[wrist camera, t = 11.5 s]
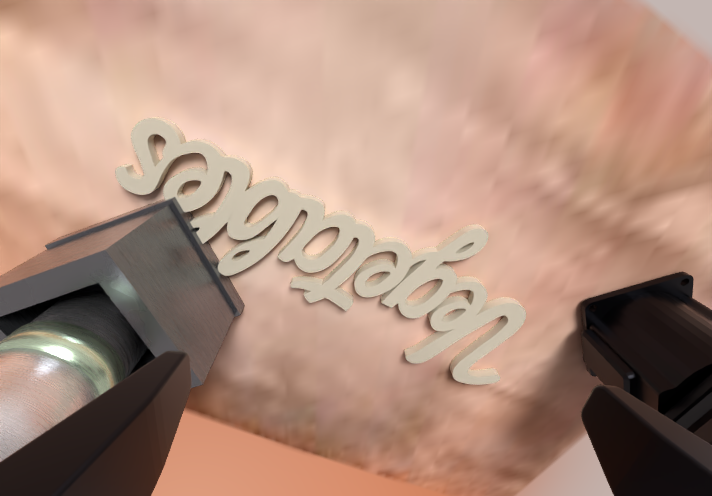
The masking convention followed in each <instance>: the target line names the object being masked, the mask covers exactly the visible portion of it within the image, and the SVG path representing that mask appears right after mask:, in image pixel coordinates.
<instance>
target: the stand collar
mask: <svg viewBox="0 0 712 496" xmlns="http://www.w3.org/2000/svg"><path fill="white" fill-rule="evenodd" d="M193 219H194V217H193V215H192V214H191V212H190V211H189V212H184V211H183V209H182V208H181V206H180V204H179V203H178V201H177V199H176V198H175V197H173V198H170V199H167V200H165V199H163V200H160V201H158V202H155V203H152V204H149V205H147V206H144V207H141V208H139V209H136V210H133V211H130V212H128V213H125V214H122V215H120V216H117V217H114V218H111V219H109V220H106V221H103V222H101V223H98V224H95V225H92V226H90V227H87V228H84V229H82V230H79V231H76V232H73V233H71V234H68V235H65V236H63V237H60V238H58V239H56V240H54V241H52V242H50V243H48V244H47V245H45V247H46V248H47V250H45V251H44V252H42V253H40V254H38V255H37V256H35V257H33V258H31V259H29V260H28V261H26V262H24V263H22V264H21V265H19V266H17V267H15V268H14V269H12V270H10V271H8V272H7V273H5V274H3V275H1V276H0V342H1V341H2V340H3V339H5V338H6V337H7V336H9V335H10V334H11V333H13V332H14V331H15V330H16V329H18V328H20V327H21V326H23V325H26V324H28V323H30V322H32V321H33V320H34V319H35V318H37V317H38V316H39V315H41V314H42V313H43V312H45V311H46V310H47V309H48V308H50V307H51V306H52V305H54V304H55V303H56V302H57V301H59V300H60V299H61V298H63V297H64V296H65V295H67V294H68V293H70V292H73V291H76V290H78V289H81V288H84V287H87V286H90V285H93V284H100V286H101V287H102V288H103V289H104V291H105V292H106V293H107V295H108V296H109V297H110V299H111V300H112V301H113V303H114V304H115V305H116V306H117V308H118V309H119V310H120V312H121V313H122V314H123V316H124V317H125V318H126V319H127V321H128V322H129V323H130V325H131V326H132V327H133V329H134V330H135V331H136V332H137V334H138V335H139V336H140V338H141V339H142V340H143V342H144V343H145V344H146V346H147V347H148V349H147V351H146V352H145V353H144V355H143V356H142V357H141V359H140V360H139V361H138V363H137V364H136V366H135V367H134V368H133V370H132V371H131V372H130V374H129V375H131V374H132V373H134V372H135V371H137V370H138V369H140V368H141V367H143V366H144V365H146V364H147V363H149V362H150V361H152V360H153V359H155V358H156V357H158V356H159V355H161V354H162V353H164V352H166V351H182V352H187V353H188V354H189V357H190V369H191V388H193V387H196V386H200V385H203V383H204V381H205V379H206V377H207V375H208V373H209V370H210V368H211V366H212V364H213V362H214V360H215V357H216V355H217V353H218V351H219V349H220V347H221V344H222V342H223V340H224V338H225V336H226V334H227V331H228V329H229V327H230V325H231V323H232V321H233V318H234V317H236V316H239V315H241V313H242V310H243V308H244V306H245V305H244V303H243V302H242V300H241V298H240V296H239V295H238V293H237V291H236V290H235V288H234V286H233V284H232V283H231V281H230V279H229V277H228V276H224V275H222V274H221V273H220V272H219V271H218V264H219V260H218V258H217V257H216V255H215V253H214V252H213V250H212V248H211V246H210V245H209V243H208V241H206V242H205V243H202V242H201V240H200V238H199V237H198V235H197V233H196V232H197V231H198V230H199V228H200V227H196V228H193V226H192V225H191V223H190V222H191V221H192V220H193ZM129 375H128V376H129Z"/></svg>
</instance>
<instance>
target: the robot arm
mask: <svg viewBox="0 0 712 496" xmlns="http://www.w3.org/2000/svg"><path fill="white" fill-rule="evenodd" d="M692 293H693V277H692V276H691V275H689V274H687V273H685V272H679V273H675V274H672V275H669V276H665V277H662V278H658V279H655V280H651V281H648V282H644V283H641V284H638V285H634V286H631V287H627V288H624V289H620V290H617V291H613V292H610V293H607V294H603V295H600V296H596V297H593V298H589V299H587V300H585V301H584V302H583V303H582V305H581V311H582V322H583V331H582V334H581V338H582V349H583V359H584V362H585V363H586V366H587V371H588V372H589V373H590V374H591V375H592V376H597V377H598V378H599V379H600V380H601V381H602V383H603V384H604V385H597V386H596V387H595V388H594V389H593V391H592V392H591V394H590V396H589V398H588V399H587V401H586V403H585V405H584V407H583V409H582V412H581V417H582V421H583V424H584V426H585V428H586V431H587V433H588V436H589V438H590V440H591V443H592V445H593V448H594V450H595V452H596V455H597V457H598V460H599V462H600V464H601V467H602V469H603V472H604V474H605V476H606V478H607V481H608V483H609V486H610V488H611V490H612V492H613V494H614V496H712V310H711V309H709V308H708V307H706V306H704V305H703V304H701V303H700V302H698V301H696V300H695V299H693V298H692ZM592 305H593V306H592ZM591 306H592V307H591ZM590 307H591V308H590ZM190 389H191V369H190V357H189V354H188V353H187V352H182V351H166V352H164V353H162V354H161V355H159V356H158V357H156V358H155V359H153V360H152V361H150V362H149V363H147V364H146V365H144V366H143V367H141V368H140V369H138V370H137V371H135V372H134V373H132V374H131V375H129V376H128V377H126V378H125V379H123V380H122V381H120V382H119V383H117V384H116V385H114V386H113V387H111V388H110V389H109V390H107V391H106V392H104V393H103V394H101V395H100V396H98V397H97V398H95V399H94V400H92V401H91V402H89V403H88V404H86V405H85V406H83V407H82V408H80V409H79V410H77V411H76V412H74V413H73V414H71V415H70V416H68V417H67V418H65V419H64V420H62V421H61V422H59V423H58V424H56V425H55V426H53V427H52V428H50V429H49V430H47V431H46V432H44V433H43V434H41V435H40V436H38V437H37V438H35V439H34V440H32V441H31V442H29V443H28V444H26V445H25V446H23V447H22V448H20V449H19V450H17V451H16V452H14V453H13V454H11V455H10V456H8V457H7V458H5V459H4V460H2V461H1V462H0V496H151V494H152V492H153V490H154V488H155V486H156V484H157V481H158V479H159V477H160V475H161V472H162V470H163V467H164V465H165V462H166V459H167V457H168V453H169V451H170V448H171V445H172V442H173V439H174V437H175V434H176V431H177V428H178V425H179V422H180V419H181V416H182V414H183V411H184V408H185V405H186V402H187V399H188V396H189V393H190Z"/></svg>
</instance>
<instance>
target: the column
mask: <svg viewBox="0 0 712 496" xmlns="http://www.w3.org/2000/svg"><path fill="white" fill-rule="evenodd" d="M147 349H148V347H147V346H146V344H145V343H144V342H143V340H142V339H141V338H140V336H139V335H138V334H137V332H136V331H135V330H134V329H133V327H132V326H131V325H130V323H129V322H128V321H127V319H126V318H125V317H124V316H123V314H122V313H121V312H120V310H119V309H118V308H117V306H116V305H115V304H114V303H113V301H112V300H111V299H110V297H109V296H108V295H107V293H106V292H105V291H104V289H103V288H102V287H101V286H100V284H93V285H90V286H87V287H84V288H81V289H78V290H76V291H73V292H70V293H68V294H67V295H65V296H64V297H63V298H61V299H60V300H59V301H57V302H56V303H55V304H54V305H52V306H51V307H50V308H48V309H47V310H46V311H45V312H43V313H42V314H41V315H39V316H38V317H37V318H35V319H34V320H33V321H32V322H30V323H28V324H26V325H23V326H21V327H20V328H18V329H16V330H15V331H14V332H13V333H11V334H10V335H9V336H7V337H6V338H5V339H3V340H2V341H1V342H0V462H1V461H2V460H4V459H5V458H7V457H8V456H10V455H11V454H13V453H14V452H16V451H17V450H19V449H20V448H22V447H23V446H25V445H26V444H28V443H29V442H31V441H32V440H34V439H35V438H37V437H38V436H40V435H41V434H43V433H44V432H46V431H47V430H49V429H50V428H52V427H53V426H55V425H56V424H58V423H59V422H61V421H62V420H64V419H65V418H67V417H68V416H70V415H71V414H73V413H74V412H76V411H77V410H79V409H80V408H82V407H83V406H85V405H86V404H88V403H89V402H91V401H92V400H94V399H95V398H97V397H98V396H100V395H101V394H103V393H104V392H106V391H107V390H109V389H110V388H111V387H113V386H114V385H116V384H117V383H119V382H120V381H122V380H123V379H125V378H126V377H128V375H129V374H130V372H131V371H132V370H133V368H134V367H135V366H136V364H137V363H138V361H139V360H140V359H141V357H142V356H143V355H144V353H145V352H146V351H147Z"/></svg>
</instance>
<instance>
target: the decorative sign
mask: <svg viewBox="0 0 712 496" xmlns="http://www.w3.org/2000/svg"><path fill="white" fill-rule="evenodd" d="M156 134H157V135H160V136H162V137H163V138H164V139H165V140H166V145H165V147H164V149H163V158H162V159H161V161H160V160H159V157H158V154H157V151H156V148H155V144H154V137H155V135H156ZM131 140H132V144H133V147H134V149H135V152H136V154H137V156H138V159H139V161H140V163H141V166H142V169H143V173H144V175H143V176H142V175H140V174H138V173H137V172H136V171H135V170H134V168H133V165H132V164H125V165H122V166H120V167H118V168H117V169H116V171H115V174H116V178H117V180H118V182H119V183H120V185H121V186H122V187H123V188H124V189H126V190H127V191H129V192H131V193H134V194H138V195H146V194H149V193H151V192H153V191H155V190H156V189H158V188H159V187H160V185H161V184H162V182H163V180H164V178H165V176H166V173H167V171H168V169H169V168H170V166H171V165H172V163H173V162H174V161H175V159H177V158H178V157H179V156H181V155H184V154H188V153H200V154H202V155H203V156H204V157H205V159H206V161H207V168H208V170H207V169H205V168H201V167H193V168H189V169H187V170H184V171H182V172H180V173H179V174H177V175H175V176H173V177H172V178H171V179H169V180H168V181H167V183H166V184H165V186H164V189H163V194H164V198H165V200H167V199H170V198H173V197H175V198H176V199H177V201H178V203H179V204H180V206H181V208H182V209H183V211H184V212H189V211H193V210H196V209H198V208H200V207H202V206H203V205H205V204H206V203H208V202H209V201H210V200H211V199H212V198H213V197H214V196H215V195H216V194H217V193H218V192H219V190H220V189H221V187H222V185H223V183H224V181H225V178H226V175H227V172H229V173H230V174H231V176H232V183H231V186H230V189H229V191H228V193H227V195H226V197H225V199H224V200H223V202H222V204H221V205H220V207H219V208H218V210H217V211H216V212H213V213H208V214H204V215H201V216H198V217H196V218H194V219H193V220H192V221H191V222H190V223H191V225H192V226H193V228H196V227H200V228H199V230H198V231H197V232H196V233H197V235H198V237H199V238H200V240H201V242H202V243H205V242H206V241H208V240H209V239H210V238H211V237H213V236H214V235H215V234H216V233H217V232H218V231H219V230H220V229H221V228H222V227H223V226H224V225H225V224H226V223H227V222H228V224H227V232H228V235H229V236H230V237H231V238H233V239H236V240H245V241H243V242H241V243H239V244H237V245H236V246H235V247H233V248H232V249H231V250H229V251H228V252H227V253H226V254H225V255H224V257H223V258H222V259H221V261H220V262H219V264H218V271H219V272H220V273H221V274H222V275H224V276H230V275H233V274H236V273H238V272H240V271H243V270H244V269H246V268H248V267H250V266H251V265H253V264H255V263H256V262H257V261H259V260H260V259H261V258H263V257H264V256H265V255H266V254H267V253H268V252H269V251H271V250H272V249H273V248H274V247H275V246H276V245H277V243H278V242H279V241H280V240H281V239H282V238H283V237H284V235H285V234H286V233H287V232H288V230H289V229H290V228H291V226H292V225H293V223H294V222H295V220H296V218H297V217H298V215H299V213H300V211H301V210H305V211H306V212H307V213H308V215H307V218H306V220H305V222H304V223H303V225H302V227H301V228H300V230H299V231H298V232H297V233H296V234H295V236H294V237H293V238H292V239H291V240H290V241H289V242H288V243H287V244H286V245H285V246H284V247H283V248H282V249H281V250H280V252H279V254H278V258H279V259H280V260H282V261H283V262H288V261H291V260H292V259H294V260H295V263H296V265H297V266H298V267H299V268H300V269H301V270H302V271H304V272H308V273H314V272H319V271H321V270H324V269H326V268H327V267H329V266H330V265H331V264H333V263H334V262H335V261H336V260H337V259H338V258H339V257H340V256H341V255H342V254H343V252H344V251H345V250H346V249H347V247H348V246H349V245H350V243H351V241H352V240H353V238H358V241H357V243H356V245H355V247H354V248H353V250H352V251H351V253H350V254H349V255H348V256H347V257H346V258H345V259H344V260H343V261H342V262H341V263H340V264H339V265H338V266H337V267H336V268H335V269H334V270H333V271H332V272H331V273H330V274H328V275H327V276H326V277H325V278H324V279H320V278H316V277H311V276H296V277H293V278H292V281H291V288H300V289H305V290H304V297H305V298H306V300H307V301H308V302H309V303H312V302H316V301H319V300H322V299H324V298H327V299H328V300H330V301H332V302H333V303H335V304H337V305H338V306H340V307H341V308H342V309H344V310H345V311H347V310H348V309H349V308H350V307H351V306H352V304H353V296H352V295H351V294H350V293H348V292H347V291H346V290H344V289H342V288H341V287H339V286H340V285H341V284H342V283H343V282H344V281H346V280H347V279H348V278H349V277H350V276H351V275H352V274H353V273H354V272H355V271H356V270H357V269H358V268H359V267H360V265H361V264H362V263H363V262H364V261H365V259H366V258H368V257H369V256H371V255H373V254H376V253H379V252H384V251H393V252H395V253H396V259H395V262H394V263H393V262H392V261H390V260H387V259H379V260H375V261H372V262H369V263H367V264H365V265H363V266H362V267H360V268H359V269H358V270H357V272H356V273H355V276H354V286H355V290H356V292H357V293H358V294H359V295H360V296H362V297H374V296H378V295H381V294H383V293H384V294H383V295H382V296H381V303H383V304H385V305H387V306H389V307H390V308H392V307H393V306H395V305H396V304H397V303H398V307H399V310H400V312H401V313H402V315H404V316H405V317H407V318H419V317H421V316H423V315H425V314H427V313H428V318H429V321H430V323H431V326H432V328H433V329H434V330H436V332H435V333H433V334H431V335H430V336H428V337H427V338H425V339H424V340H422V341H420V342H419V343H417V344H416V345H414V346H412V347H410V348H407V349H405V350H404V353H405V358H406V360H407V361H409V362H410V363H415V364H418V363H423V362H425V361H428V360H429V359H431V358H433V357H434V356H436V355H437V354H439V353H440V352H442V351H443V350H445V349H446V348H448V347H449V346H451V345H452V344H454V343H455V342H457V341H458V340H460V339H461V338H463V337H465V336H466V335H468V334H469V333H471V332H473V331H475V330H476V329H478V328H480V327H482V326H483V325H485V324H487V323H489V322H490V321H492V320H494V319H496V318H498V317H500V316H503V318H502V319H501V320H500V321H499V322H498V323H497V324H496V325H495V326H494V327H492V328H491V329H490V330H489V331H487V332H486V333H485V334H483V335H482V336H481V337H479V338H478V339H477V340H475V341H474V342H473V343H471V344H470V345H469V346H467V347H466V348H465V349H464V350H462V351H461V352H460V353H459V354H457V355H456V356H455V357H454V359H453V360H452V362H451V364H450V370H451V373H452V375H453V378H454V379H455V380H456V381H458V382H461V383H466V384H474V385H482V384H491V383H496V382H498V381H499V380H500V376H499V374H498V372H497V370H496V369H495V368H489V369H481V370H471V369H469V368H470V367H471V366H472V365H473V364H474V363H475V362H477V361H478V360H479V359H481V358H482V357H484V356H485V355H486V354H488V353H489V352H491V351H492V350H493V349H495V348H496V347H497V346H499V345H500V344H501V343H503V342H504V341H505V340H507V339H508V338H509V337H511V336H512V335H513V334H514V333H515V332H516V331H518V329H519V328H520V327H521V326H522V324H523V323H524V321H525V318H526V311H525V309H524V308H523V307H522V305H521V304H520V303H519V302H518V301H517V300H515V299H513V298H509V297H501V298H497V299H493V300H490V301H488V302H486V300H487V291H486V289H485V287H484V286H483V284H482V283H481V282H480V281H479V280H478V279H477V278H475V277H471V276H462V277H458V278H457V275H456V273H455V272H454V270H453V268H452V267H451V266H449V265H447V264H442V263H443V262H444V261H458V260H463V259H466V258H469V257H471V256H473V255H475V254H476V253H478V252H479V251H480V250H481V249H482V248H483V247H484V246H485V244H486V242H487V240H488V232H487V231H486V230H485V229H484V228H483V227H482V226H481V225H478V224H472V225H468V226H465V227H463V228H462V229H460V230H458V231H457V232H455V233H454V234H453V235H451V236H450V237H448V238H447V239H446V240H444V241H443V242H441V243H440V244H439V245H437V246H436V247H426V248H422V249H419V250H417V251H415V252H413V253H411V251H410V248H409V246H408V245H407V244H406V243H405V242H404V241H403V240H402V239H399V238H396V237H386V238H382V239H379V240H377V241H375V234H374V230H373V228H372V226H371V225H370V224H369V223H367V222H365V221H363V220H356V219H355V217H354V216H353V214H351V213H350V212H348V211H343V210H341V211H336V212H333V213H330V214H328V215H326V216H324V214H325V204H324V202H323V201H322V200H321V199H320V198H318V197H316V196H312V195H306V194H301V193H300V192H299V191H298V190H295V189H290V187H289V186H288V184H287V183H286V182H285V181H284V180H283V179H281V178H279V177H270V178H266V179H264V180H262V181H260V182H258V183H256V184H255V185H253V186H252V187H250V188H248V186H249V184H250V182H251V179H252V175H253V170H252V167H251V165H250V163H249V162H248V161H247V160H245V159H244V158H242V157H240V156H236V155H226V154H225V153H224V151H223V150H222V149H221V148H220V147H219V146H218V145H216V144H215V143H213V142H211V141H208V140H204V139H195V140H191V141H188V142H186V140H185V136H184V134H183V132H182V131H181V129H180V128H179V127H178V126H177V125H176V124H175V123H174V122H172V121H170V120H168V119H166V118H162V117H153V118H148V119H144V120H142V121H140V122H138V123H137V124H136V125H135V127H134V128H133V130H132V133H131ZM191 180H199V181H201V185H200V186H199V188H198V189H197V190H196V191H195V192H194V193H192V194H189V195H184V194H183V193H182V188H183V186H184V184H185V183H186V182H187V181H191ZM269 195H274V196H276V197H277V198H278V205H277V206H276V207H275V208H274V209H273V210H272V211H271V212H270V213H268V214H267V215H266V216H265V217H263V218H262V219H261V220H259V221H257V222H255V223H250V222H247V217H248V215H249V213H250V212H251V210H252V209H253V207H254V206H255V205H256V204H257V203H258V202H259V201H260V200H261V199H263V198H264V197H266V196H269ZM275 220H276V222H275V223H274V225H273V226H272V228H271V229H270V230H269V232H268V233H267V234H266V235H262V236H256V235H257V234H259V233H260V232H261V231H263V230H264V229H265V228H266V227H268V226H269V225H270V224H271V223H273V222H274V221H275ZM329 227H338V228H339V232H338V235H337V237H336V238H335V240H334V241H333V242H332V243H331V244H330V245H329V246H328V247H327V248H326V249H324V250H323V251H322V252H320V253H318V254H316V255H309V254H307V253H306V252H305V251H304V250H303V248H304V246H305V245H306V244H307V243H308V242H309V241H310V240H311V239H312V238H313V237H314V236H315V235H316V234H317V233H318V232H320V231H322V230H324V229H326V228H329ZM254 236H256V237H254ZM252 237H253V238H252ZM246 239H247V240H246ZM245 250H249V251H247V252H246V253H244V254H243V255H240V256H235V254H237V253H238V252H241V251H245ZM413 264H414V265H413ZM384 271H387V272H385V273H384V274H383V275H382V276H380V277H379V278H377V279H376V280H373V281H369V282H368V281H367V279H368V278H369V277H370V276H372V275H373V274H375V273H378V272H384ZM434 279H439V280H438V282H437V283H436V285H435V286H434V287H433V288H432V289H431V290H430V291H429V292H428V293H427V294H425V295H424V296H422V297H421V298H419V299H416V300H412V301H409V300H406V299H407V298H408V296H409V295H410V294H411V293H412V292H413V291H414V290H415V289H417V288H418V287H419V286H421V285H422V284H424V283H426V282H428V281H431V280H434ZM460 290H470V294H469V297H468V299H466V298H465V297H462V296H452V297H448V298H447V296H448V295H449V294H450V293H453V292H456V291H460ZM485 302H486V303H485ZM455 309H457V310H456V311H454V312H453V313H451V314H449V315H446V314H447V313H448V312H450V311H452V310H455ZM445 315H446V316H445Z"/></svg>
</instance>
